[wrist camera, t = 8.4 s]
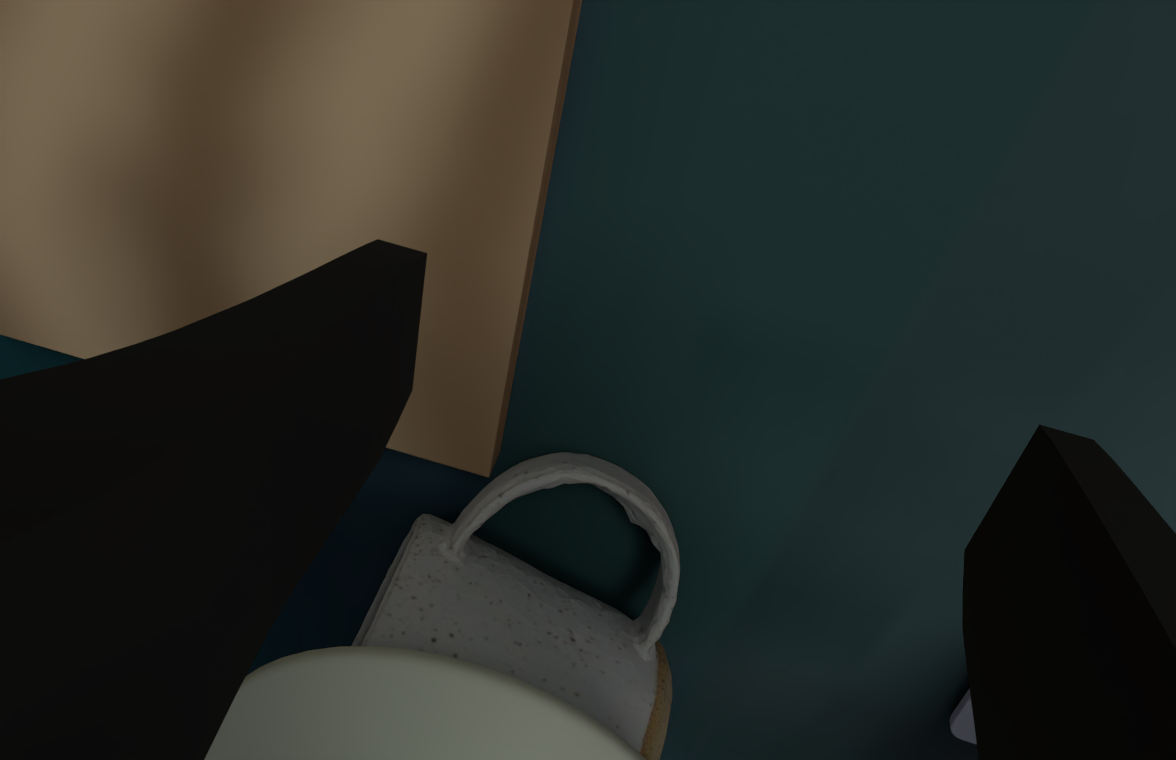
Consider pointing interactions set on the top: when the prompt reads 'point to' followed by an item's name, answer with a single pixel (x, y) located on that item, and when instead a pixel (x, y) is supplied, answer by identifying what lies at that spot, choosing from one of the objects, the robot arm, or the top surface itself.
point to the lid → (403, 712)
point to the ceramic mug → (537, 605)
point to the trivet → (282, 173)
